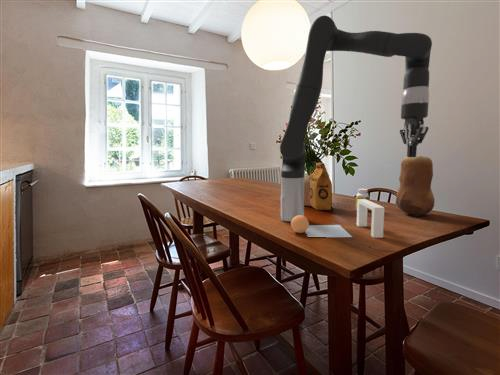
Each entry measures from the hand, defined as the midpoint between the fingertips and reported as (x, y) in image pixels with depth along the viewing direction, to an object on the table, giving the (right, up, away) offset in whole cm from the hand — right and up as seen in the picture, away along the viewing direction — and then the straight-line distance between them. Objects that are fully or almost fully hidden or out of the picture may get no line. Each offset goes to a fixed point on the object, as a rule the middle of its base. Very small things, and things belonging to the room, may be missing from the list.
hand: (411, 157), depth 91 cm
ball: (-36, -22, +3) cm, 43 cm away
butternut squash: (+16, -22, +26) cm, 37 cm away
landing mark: (-28, -25, +4) cm, 38 cm away
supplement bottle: (-2, -21, +36) cm, 42 cm away
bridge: (-13, -25, +4) cm, 28 cm away
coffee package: (-20, -20, +43) cm, 51 cm away
